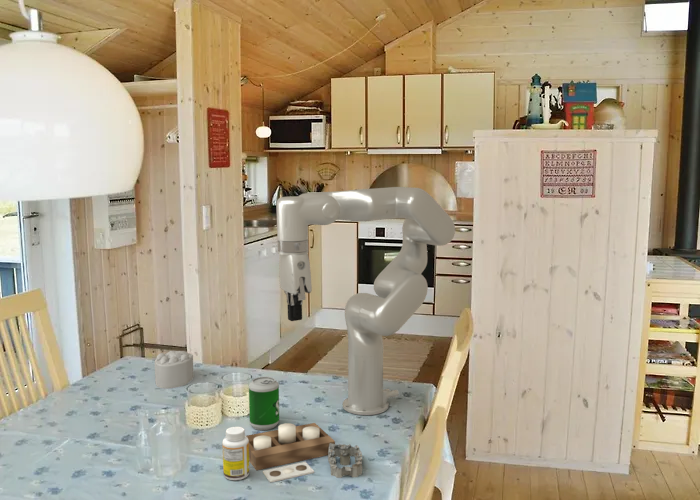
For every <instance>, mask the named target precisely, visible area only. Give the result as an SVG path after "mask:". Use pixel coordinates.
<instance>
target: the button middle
mask: <svg viewBox="0 0 700 500" xmlns="http://www.w3.org/2000/svg"><path fill="white" fill-rule="evenodd" d="M296 426H297V425H296V424H294V423H290V422H287V423H286V422H285V423H281V424H279V425H278V427H277V428H278V429H277V430H278V438H279V443H280V444H283V445H285V444H290V443H295V442H296Z"/></svg>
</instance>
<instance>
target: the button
mask: <svg viewBox="0 0 700 500" xmlns="http://www.w3.org/2000/svg"><path fill="white" fill-rule="evenodd" d="M315 438H320V430H319V428H318V427H313V426H310V427H305V428H303V439H304V440H310V439H315Z"/></svg>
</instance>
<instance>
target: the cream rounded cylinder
mask: <svg viewBox="0 0 700 500" xmlns="http://www.w3.org/2000/svg"><path fill="white" fill-rule="evenodd" d="M270 447H271V437H269V436H257V437H255V438H254V449H255V450H260V449H265V448H270Z"/></svg>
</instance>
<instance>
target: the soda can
mask: <svg viewBox="0 0 700 500" xmlns="http://www.w3.org/2000/svg"><path fill="white" fill-rule="evenodd" d="M248 404H249V405H248V408H249V410H248V412H249V415H248V416H249V425H250V426H252V428H253V429H255V430H257V431H271V430H273V429H275V427H277V425H278V424H279V423H280V384H279V382H278V381H277V380H276V379H275V378H274V377H271V376H259V377H256V378H253V379H251V381H250V382H249V384H248Z"/></svg>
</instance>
